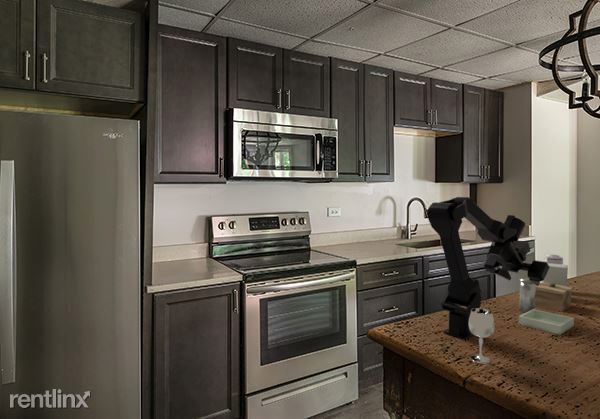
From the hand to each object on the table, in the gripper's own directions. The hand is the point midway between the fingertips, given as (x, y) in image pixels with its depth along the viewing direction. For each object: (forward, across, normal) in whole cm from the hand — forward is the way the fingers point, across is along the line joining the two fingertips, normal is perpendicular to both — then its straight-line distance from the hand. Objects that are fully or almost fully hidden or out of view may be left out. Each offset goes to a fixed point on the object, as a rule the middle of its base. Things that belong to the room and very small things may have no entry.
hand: (523, 282), depth 130 cm
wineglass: (-25, -13, +39) cm, 48 cm away
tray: (+3, -10, +12) cm, 16 cm away
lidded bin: (+19, -2, -4) cm, 19 cm away
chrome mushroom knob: (+9, 0, +6) cm, 11 cm away
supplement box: (+27, +3, -12) cm, 30 cm away
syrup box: (+34, +8, -18) cm, 40 cm away
